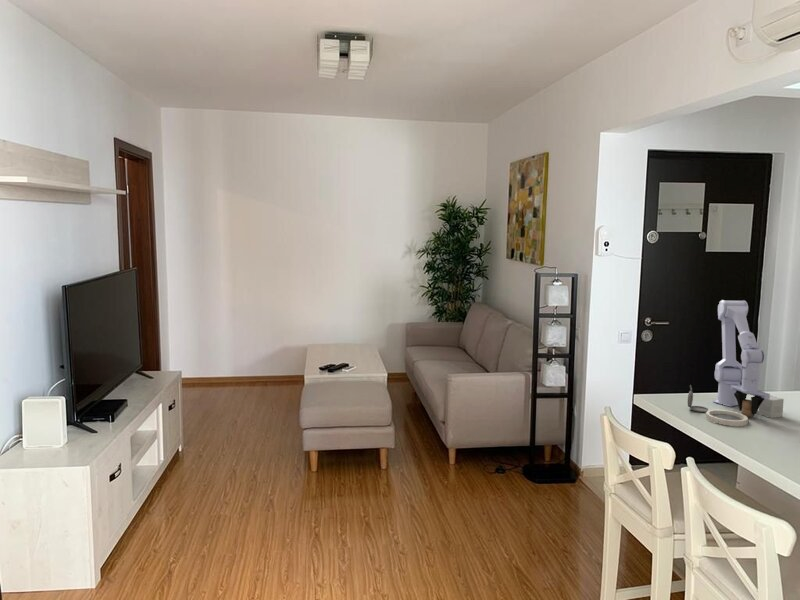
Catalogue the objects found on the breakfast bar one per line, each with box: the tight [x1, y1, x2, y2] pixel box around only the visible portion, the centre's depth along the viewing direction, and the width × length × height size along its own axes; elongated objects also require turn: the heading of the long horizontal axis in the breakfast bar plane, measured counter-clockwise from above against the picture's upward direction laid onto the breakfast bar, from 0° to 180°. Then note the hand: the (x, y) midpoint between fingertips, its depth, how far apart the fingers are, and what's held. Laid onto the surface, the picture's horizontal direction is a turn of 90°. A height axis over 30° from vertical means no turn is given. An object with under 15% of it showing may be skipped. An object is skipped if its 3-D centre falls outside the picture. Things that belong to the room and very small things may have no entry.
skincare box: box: [757, 394, 785, 419], centre depth 233 cm, size 6×6×7 cm
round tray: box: [705, 409, 749, 427], centre depth 227 cm, size 14×14×2 cm
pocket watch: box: [687, 384, 709, 413], centre depth 239 cm, size 8×8×10 cm
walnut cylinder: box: [740, 398, 755, 419], centre depth 231 cm, size 4×4×6 cm
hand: (747, 412), depth 232 cm, fingers closed on walnut cylinder, 4 cm apart
